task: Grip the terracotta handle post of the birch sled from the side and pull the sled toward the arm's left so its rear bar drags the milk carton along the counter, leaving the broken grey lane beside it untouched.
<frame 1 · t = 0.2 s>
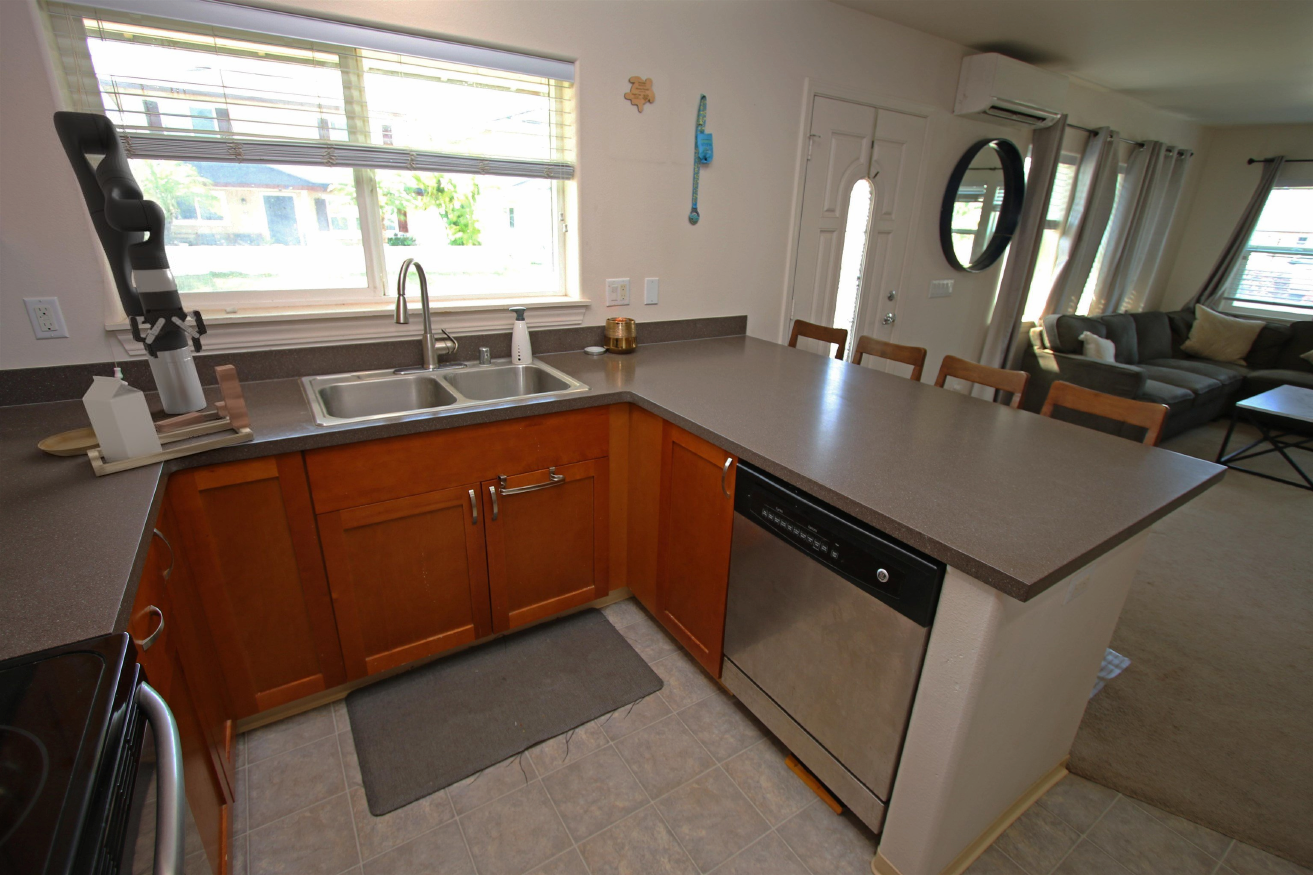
hand: (177, 355, 146), 18 cm above the worktop, tool pointing down, fingers open, 8 cm apart
milk carton: (136, 459, 131), resting in sled
plant saucer: (86, 448, 138), on the worktop
sled: (166, 413, 133), point 9 cm above the worktop, slide at 0.0 cm
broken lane: (173, 432, 146), on the worktop
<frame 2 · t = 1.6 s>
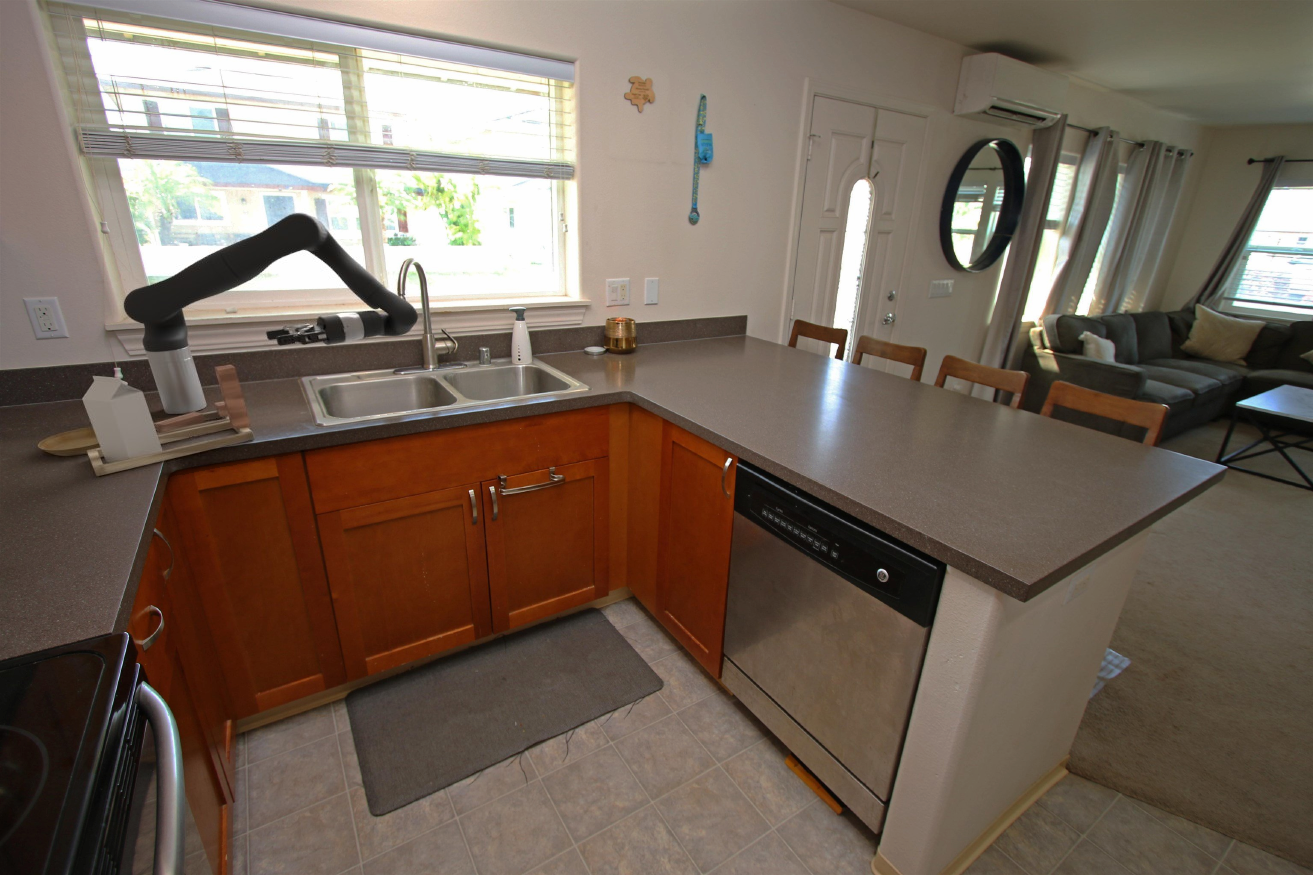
hand: (272, 338, 144), 22 cm above the worktop, tool horizontal, fingers open, 8 cm apart
nothing on the worktop moved.
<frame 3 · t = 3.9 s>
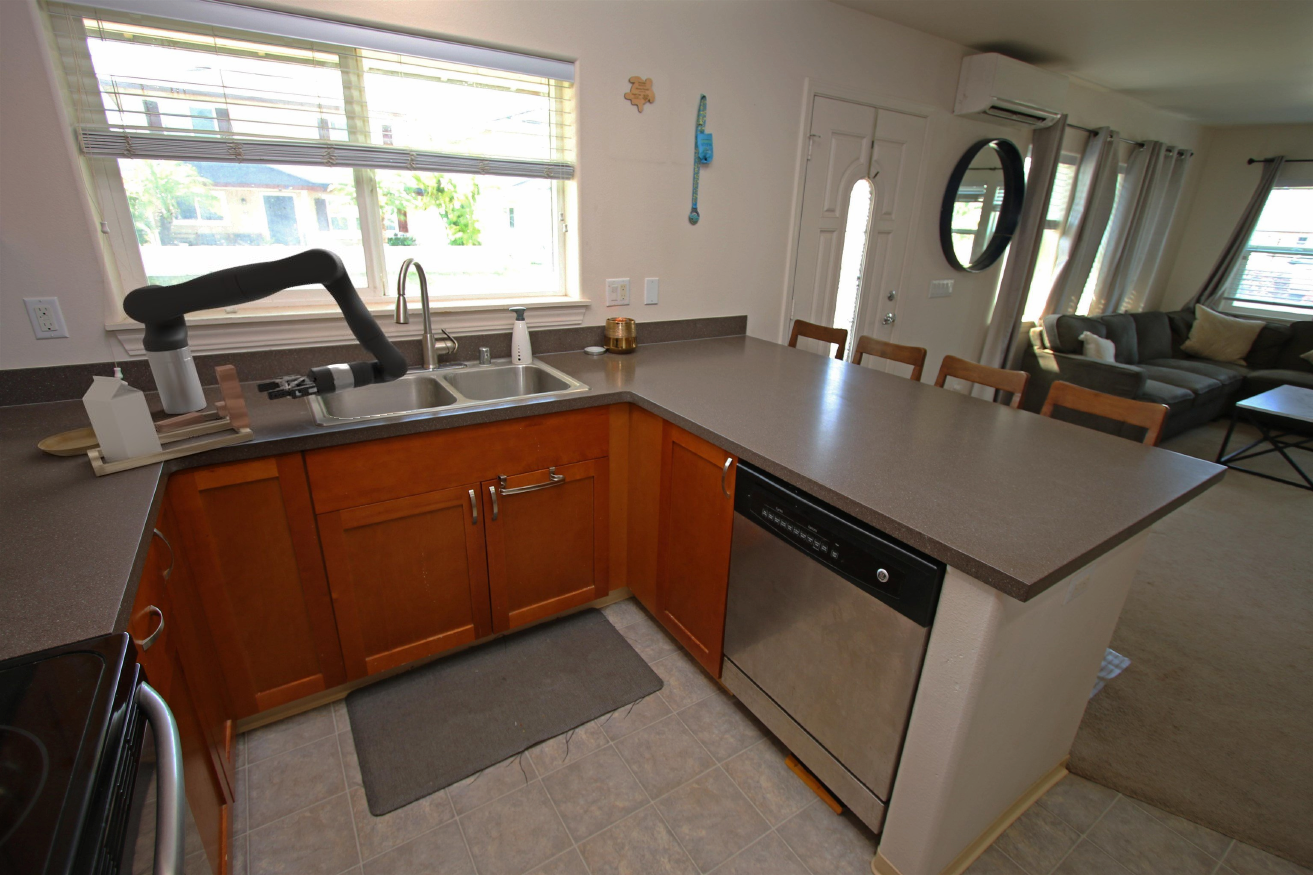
hand: (262, 392, 146), 9 cm above the worktop, tool horizontal, fingers open, 8 cm apart
nothing on the worktop moved.
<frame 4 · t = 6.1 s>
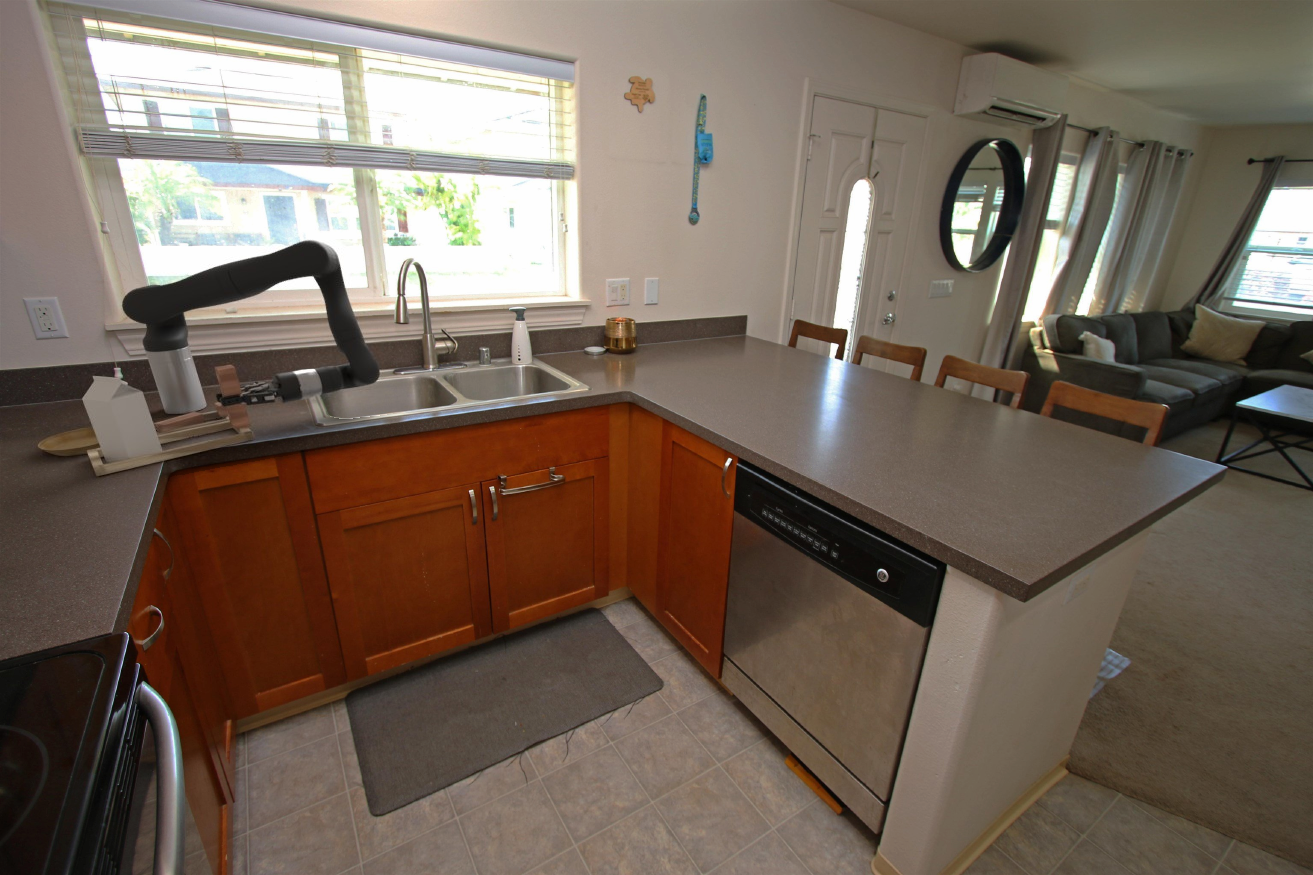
hand: (219, 400, 140), 9 cm above the worktop, tool horizontal, fingers closed on sled, 3 cm apart
sled: (166, 413, 133), point 9 cm above the worktop, slide at 0.0 cm, touching gripper
everything else where it was.
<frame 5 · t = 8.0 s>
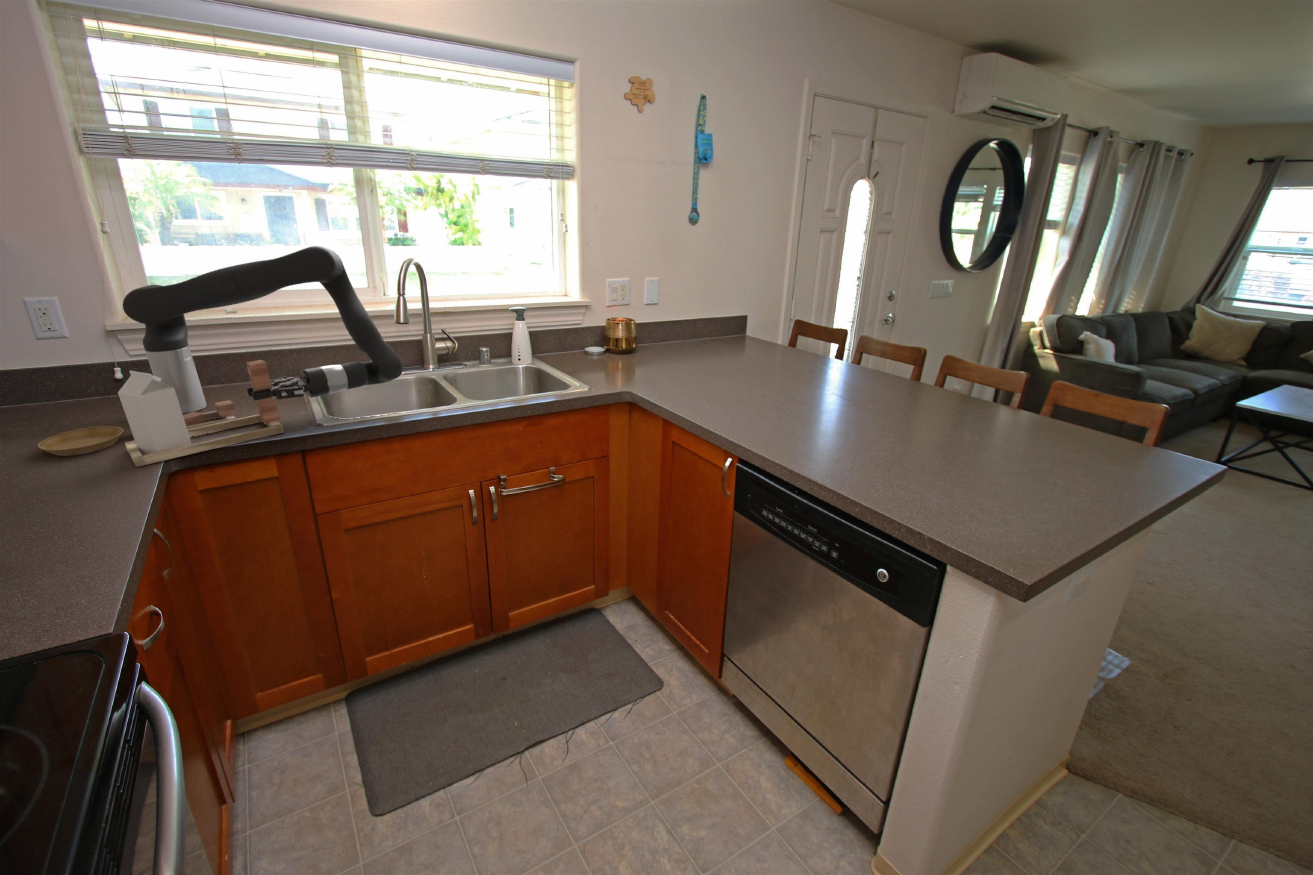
hand: (250, 394, 144), 10 cm above the worktop, tool horizontal, fingers closed on sled, 3 cm apart
milk carton: (167, 452, 135), resting in sled
sled: (200, 407, 138), point 9 cm above the worktop, slide at 6.5 cm, touching gripper, milk carton
everything else where it was.
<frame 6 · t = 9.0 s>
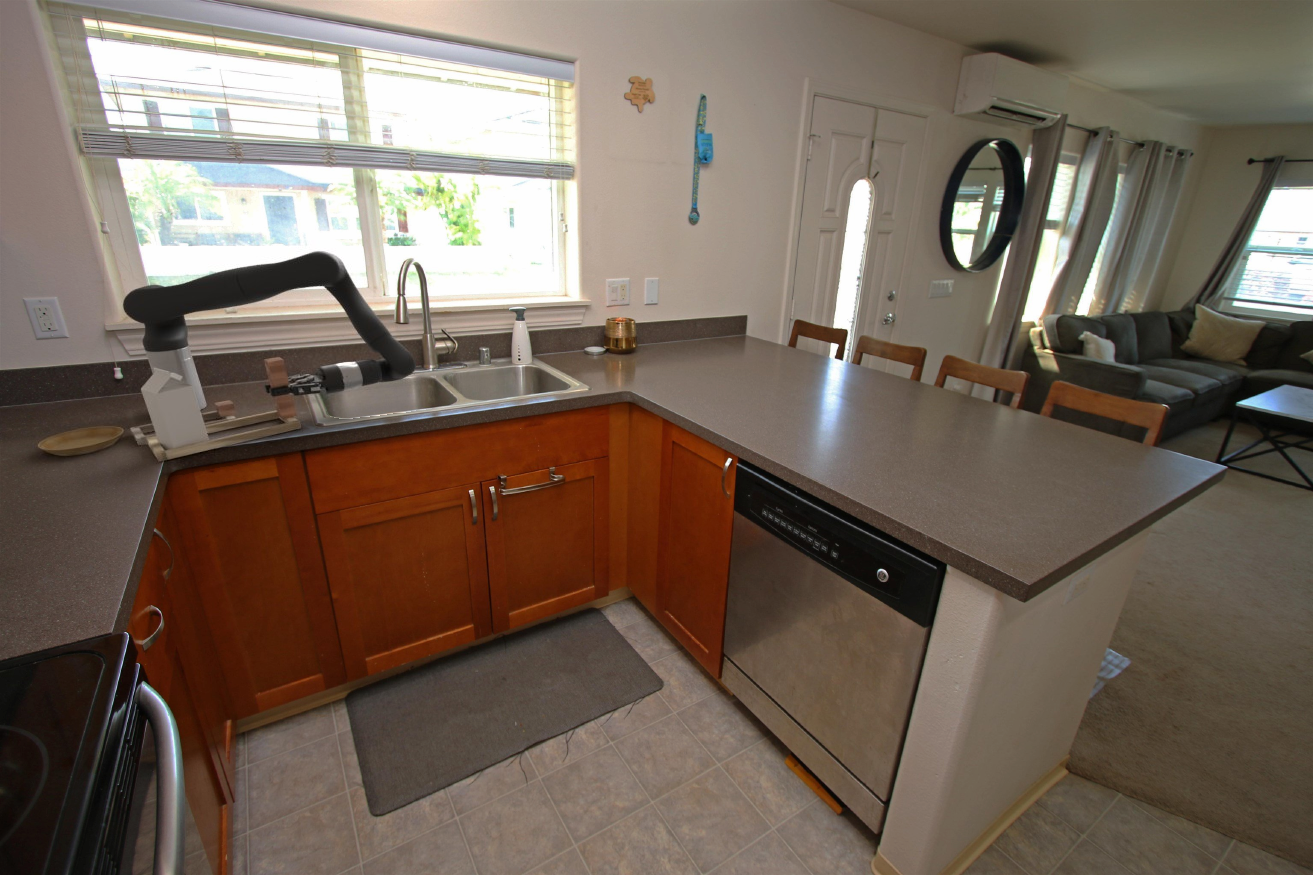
hand: (268, 390, 147), 10 cm above the worktop, tool horizontal, fingers closed on sled, 3 cm apart
milk carton: (186, 449, 137), resting in sled
sled: (220, 403, 140), point 9 cm above the worktop, slide at 10.4 cm, touching gripper, milk carton
everything else where it was.
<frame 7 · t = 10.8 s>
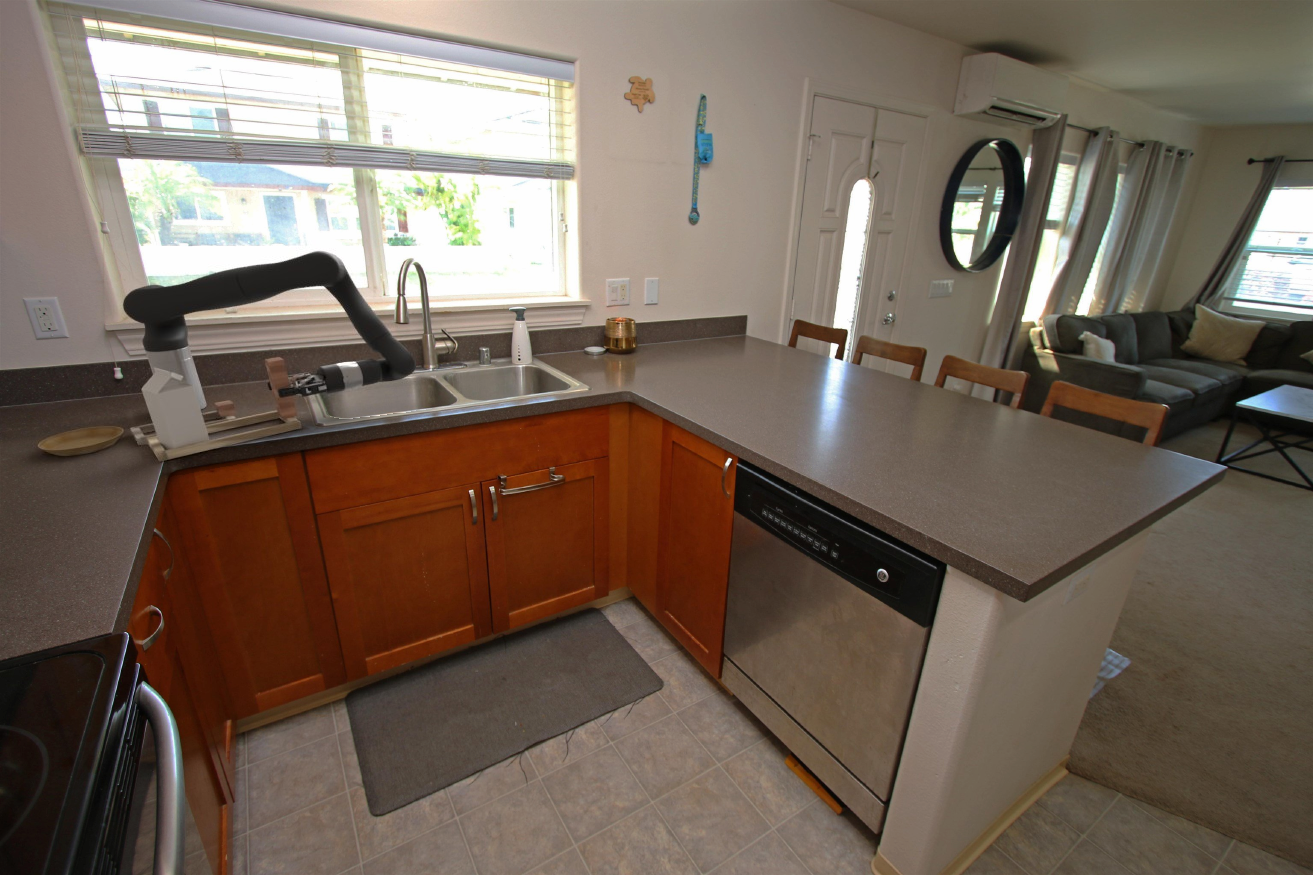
hand: (273, 390, 148), 10 cm above the worktop, tool horizontal, fingers open, 8 cm apart
milk carton: (187, 449, 137), resting in sled
sled: (221, 403, 140), point 9 cm above the worktop, slide at 10.4 cm
everything else where it was.
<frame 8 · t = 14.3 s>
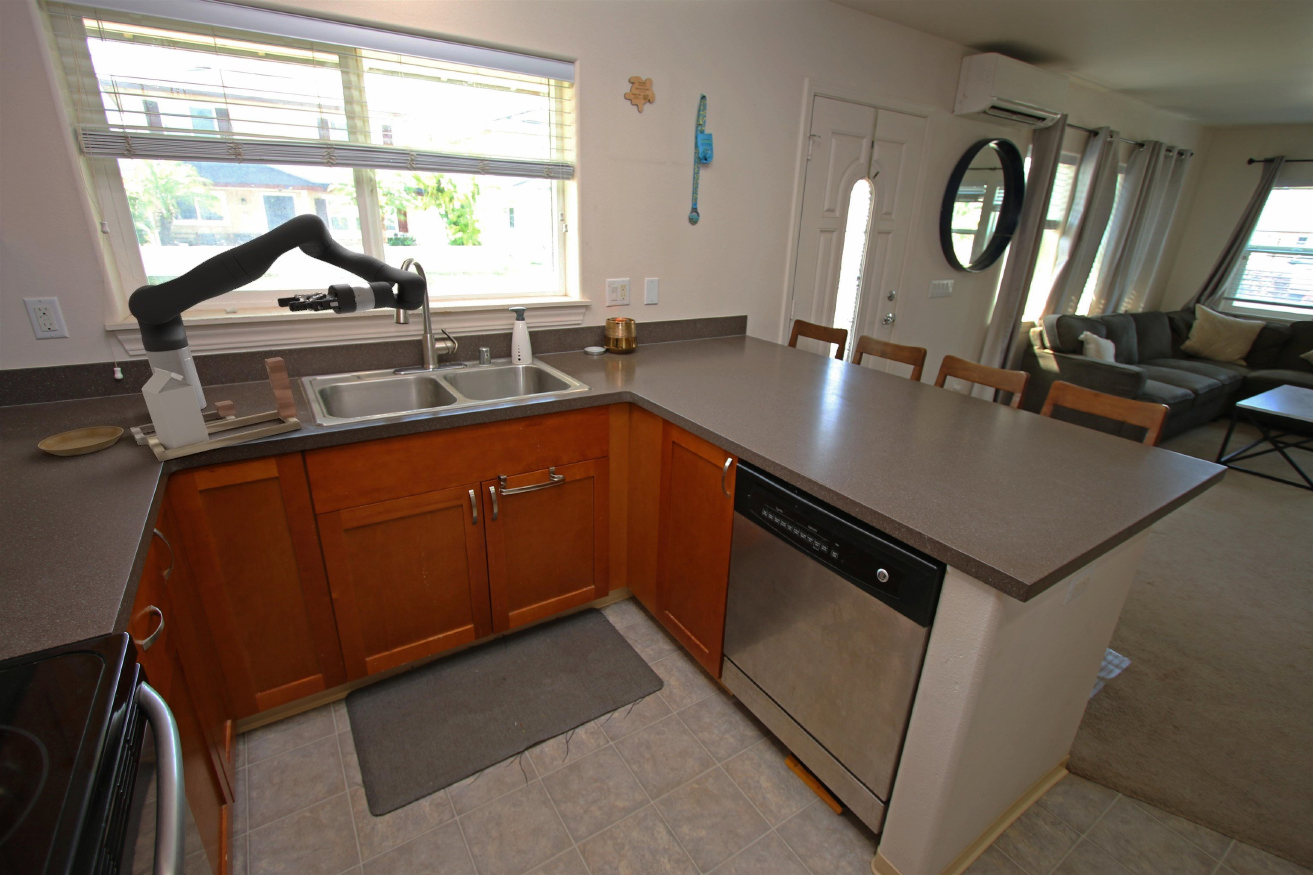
hand: (283, 305, 144), 30 cm above the worktop, tool horizontal, fingers open, 8 cm apart
nothing on the worktop moved.
at the end: sled slide at 10.4 cm; milk carton moved 9.3 cm from its start; milk carton tilted 0° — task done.
